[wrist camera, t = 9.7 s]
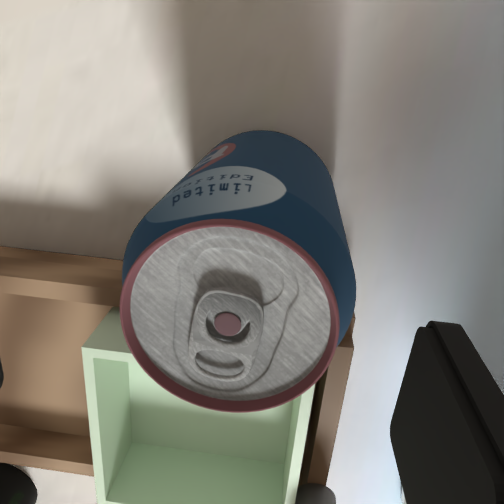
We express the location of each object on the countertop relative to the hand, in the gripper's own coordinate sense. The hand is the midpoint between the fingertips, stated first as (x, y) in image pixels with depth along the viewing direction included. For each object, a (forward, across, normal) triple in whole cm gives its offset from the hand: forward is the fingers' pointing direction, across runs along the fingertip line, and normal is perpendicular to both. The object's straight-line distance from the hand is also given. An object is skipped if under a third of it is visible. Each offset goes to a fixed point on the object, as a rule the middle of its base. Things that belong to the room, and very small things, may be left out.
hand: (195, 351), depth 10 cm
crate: (+12, +1, +12) cm, 17 cm away
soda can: (+14, -1, +1) cm, 14 cm away
